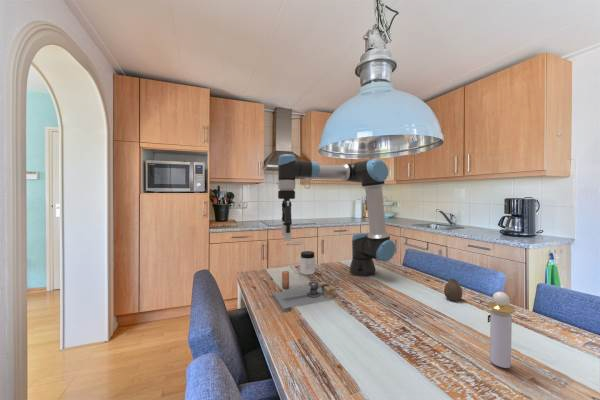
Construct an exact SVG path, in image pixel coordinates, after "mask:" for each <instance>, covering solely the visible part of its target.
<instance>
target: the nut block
mask: <svg viewBox="0 0 600 400" xmlns="http://www.w3.org/2000/svg"><path fill="white" fill-rule="evenodd" d="M324 296H325V297H326V298H327V299H331V298H336V297H337V288H336V287H334V285H329V286H325V287H324Z"/></svg>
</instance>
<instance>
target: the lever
mask: <svg viewBox="0 0 600 400" xmlns="http://www.w3.org/2000/svg"><path fill="white" fill-rule="evenodd" d="M325 286H330V284H328V283H327V282H325V281H322V282H318V281H309V282H308V283H306V284H300V285H294V286H290V271H285V270H284V271H282V272H281V288H282V289H281V290H284V291H285V292H286V293H289V292H296V291H302V290H309V289H312V290H315V289H318V288H322V291H323V292H324V287H325Z"/></svg>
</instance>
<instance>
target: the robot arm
mask: <svg viewBox="0 0 600 400" xmlns="http://www.w3.org/2000/svg"><path fill="white" fill-rule="evenodd" d="M277 163H278V165H277V171H278V173H277V175H278V177H277V179H278V181H277V182H276V185H278V186H277V187H278V189H279V190H277V198H278V200H282V201H281V202H282V203H281V211H282V212H281V221H282V223H281V236H282V237H283V238H284V241H285V242H286V241H288V242H290V241H292V224H293V222H292V221H293V220H292V201H291V200H295V199H296V180H341V181H342V182H353V183H361V187H362V188H363V189H364V190H365V199H366V208H367V209H366V210H367V211H366V212H367V219H368V229H369V232H363V233H355V234H353V235H352V240H351V243H352V244H351V247H352V249H351V251H352V253H351V254H352V259H351V262H350V265H349V268H348V269H349V273H350V274H351V275H354V276H360V277H371V276H375V275H376V273H377V272H376V271H377V270H376V269H377V268H376V267H375V266H376V265H375V262H374V260H377V261H381V262H388V261H390V260H391V259H392V258H393V257H394V256H395V253H396V250H397V248H396V247H397V246H396V243H395V242H394V241H393V240H391V237H390V236H391V235H390V233H388V232H387V226H386V217H385V205H384V204H385V203H384V197H383V195H384V194H383V187H384V185H385V181H386V180H387V178H388V176H389V168H388V165H387V164H386V162H385V161H383V160H382V159H379V158H376V159H373V158H372V159H366V160H362V161H361V160H360V161H357V162H351V163H343V164H341V165H337V164H334V165H333V164H319V163H318V162H317V161H313V160H311V161H309V160H298V159H297V158H296V155H294V154H287V153H285V154H281V155H280V154H279V156H278V161H277Z"/></svg>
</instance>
